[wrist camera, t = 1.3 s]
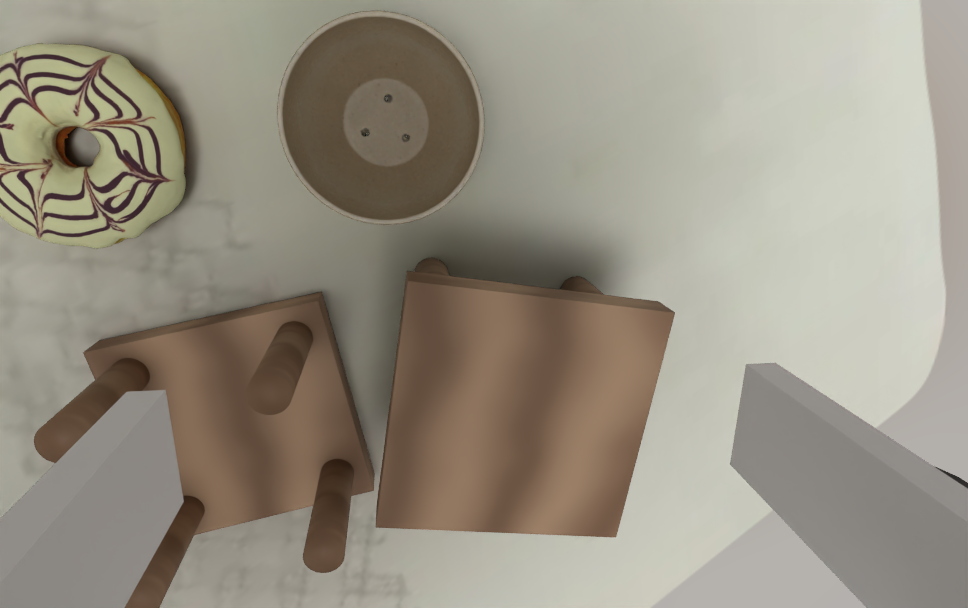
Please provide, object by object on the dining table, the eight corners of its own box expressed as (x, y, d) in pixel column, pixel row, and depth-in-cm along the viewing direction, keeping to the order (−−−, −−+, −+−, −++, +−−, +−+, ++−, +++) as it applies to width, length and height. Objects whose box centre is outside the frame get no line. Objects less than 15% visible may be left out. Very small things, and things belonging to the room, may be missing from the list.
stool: (379, 434, 42) (375, 527, 32) (404, 240, 38) (407, 280, 28) (568, 447, 44) (615, 537, 35) (609, 267, 40) (674, 312, 31)
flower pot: (460, 27, 35) (477, 4, 28) (473, 198, 38) (491, 215, 31) (285, 36, 33) (258, 16, 27) (314, 212, 37) (296, 234, 30)
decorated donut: (228, 199, 36) (210, 209, 32) (59, 263, 35) (22, 279, 32) (137, 20, 32) (106, 9, 29) (-50, 89, 32) (-106, 85, 28)
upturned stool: (177, 522, 41) (113, 641, 32) (99, 340, 37) (-3, 417, 27) (374, 473, 42) (368, 575, 33) (321, 291, 38) (297, 349, 29)
